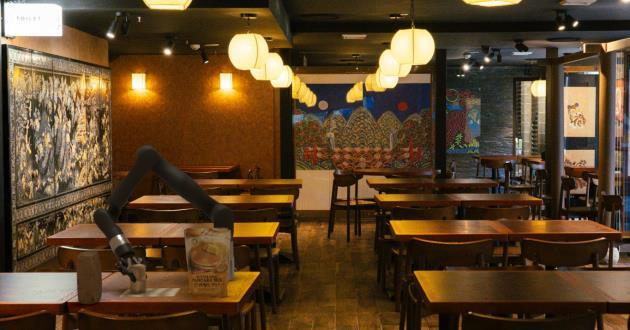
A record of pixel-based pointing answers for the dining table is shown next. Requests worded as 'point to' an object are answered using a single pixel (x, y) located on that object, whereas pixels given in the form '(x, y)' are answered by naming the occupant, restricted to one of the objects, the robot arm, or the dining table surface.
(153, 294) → the birch board
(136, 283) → the tan tall block
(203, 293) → the pancake mix bag
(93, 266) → the block
